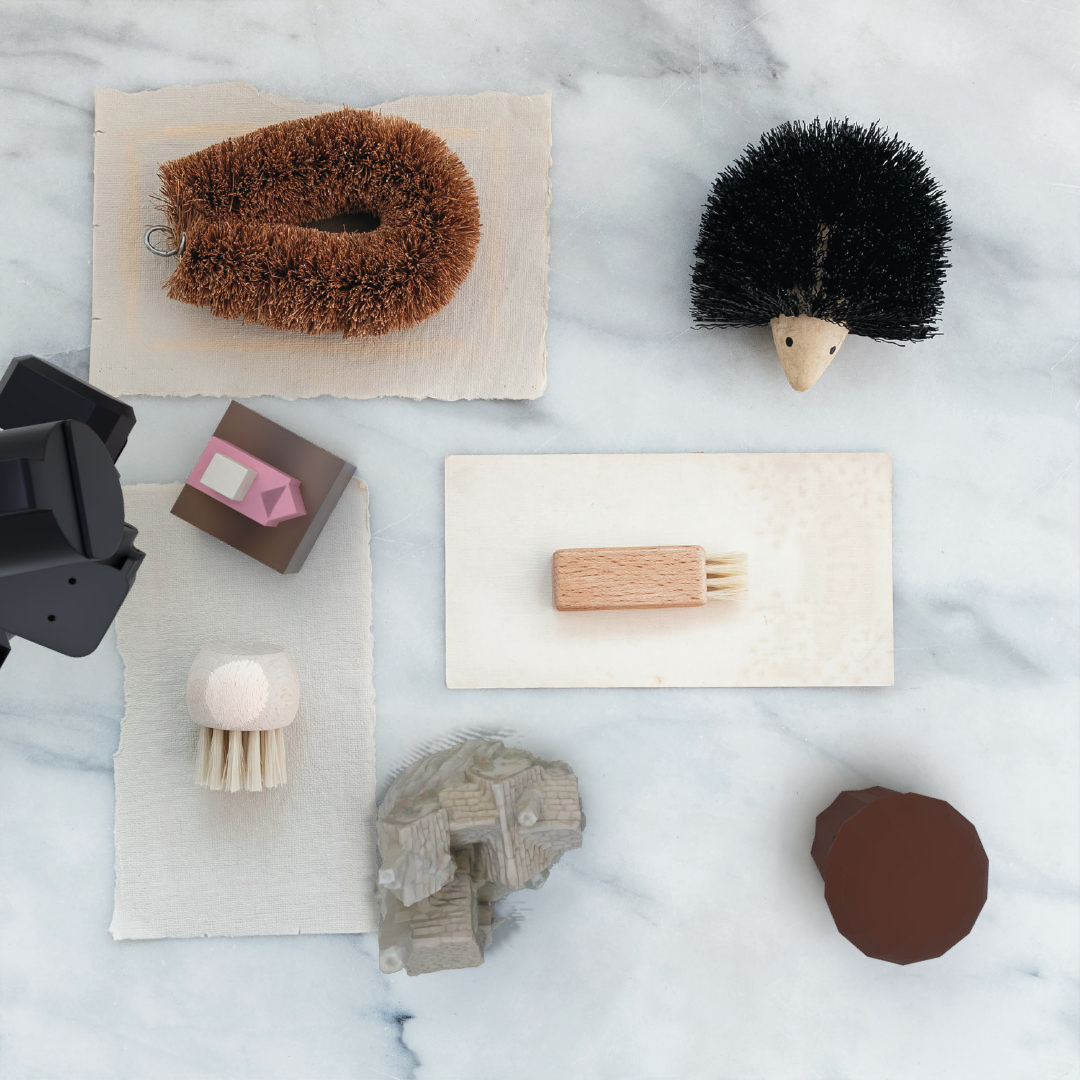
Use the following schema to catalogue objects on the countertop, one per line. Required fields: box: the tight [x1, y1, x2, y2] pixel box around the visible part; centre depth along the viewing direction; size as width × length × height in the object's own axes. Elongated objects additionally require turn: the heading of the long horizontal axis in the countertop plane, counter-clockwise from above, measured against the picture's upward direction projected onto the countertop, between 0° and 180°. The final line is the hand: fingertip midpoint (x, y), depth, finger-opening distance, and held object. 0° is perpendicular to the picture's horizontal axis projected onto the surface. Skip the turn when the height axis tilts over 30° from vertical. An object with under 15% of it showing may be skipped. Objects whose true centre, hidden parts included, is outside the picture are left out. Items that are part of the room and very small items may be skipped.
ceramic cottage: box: [374, 738, 587, 977], centre depth 57 cm, size 16×16×15 cm
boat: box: [185, 435, 307, 527], centre depth 56 cm, size 7×4×5 cm, turn 61°
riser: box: [169, 399, 358, 575], centre depth 61 cm, size 9×9×5 cm
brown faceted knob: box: [810, 785, 990, 966], centre depth 59 cm, size 12×11×10 cm
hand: (75, 540), depth 52 cm, fingers open, 9 cm apart
